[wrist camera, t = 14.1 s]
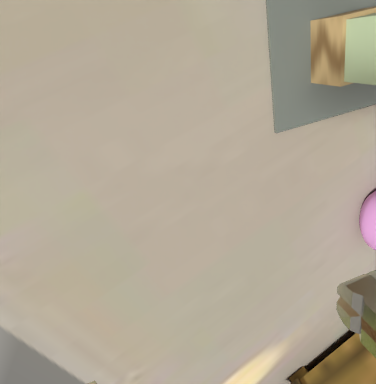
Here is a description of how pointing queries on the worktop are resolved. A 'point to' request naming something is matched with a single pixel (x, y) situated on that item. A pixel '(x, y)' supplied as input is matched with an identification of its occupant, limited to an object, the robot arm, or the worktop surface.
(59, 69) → the worktop surface
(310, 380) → the wooden nightstand
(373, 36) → the sage top block
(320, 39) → the oak base block
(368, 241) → the teapot
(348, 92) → the slate mat
